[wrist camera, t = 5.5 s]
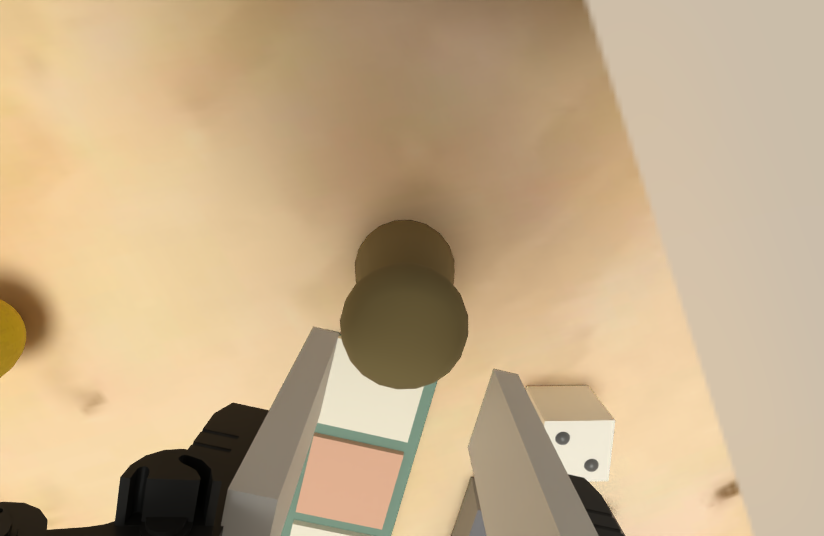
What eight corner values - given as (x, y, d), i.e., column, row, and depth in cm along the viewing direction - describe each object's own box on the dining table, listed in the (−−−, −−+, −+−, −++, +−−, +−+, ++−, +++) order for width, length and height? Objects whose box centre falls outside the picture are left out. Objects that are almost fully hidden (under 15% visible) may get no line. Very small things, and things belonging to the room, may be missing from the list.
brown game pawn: (445, 210, 27) (471, 249, 16) (462, 307, 28) (496, 399, 18) (344, 230, 27) (305, 280, 17) (366, 324, 29) (343, 427, 18)
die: (526, 386, 30) (546, 424, 26) (588, 385, 30) (617, 423, 26) (523, 440, 31) (541, 485, 27) (582, 439, 31) (610, 484, 27)
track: (325, 330, 29) (323, 334, 28) (443, 358, 29) (444, 362, 29) (268, 581, 33) (265, 590, 33) (370, 601, 34) (369, 610, 33)
